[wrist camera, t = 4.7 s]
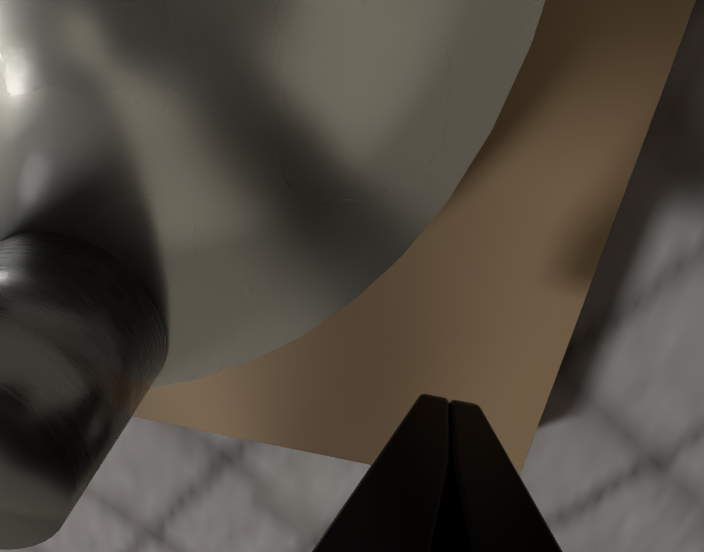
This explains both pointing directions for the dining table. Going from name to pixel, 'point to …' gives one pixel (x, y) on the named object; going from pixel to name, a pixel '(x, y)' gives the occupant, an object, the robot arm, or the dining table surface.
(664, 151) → the dining table surface
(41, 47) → the flange plate
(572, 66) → the base board
